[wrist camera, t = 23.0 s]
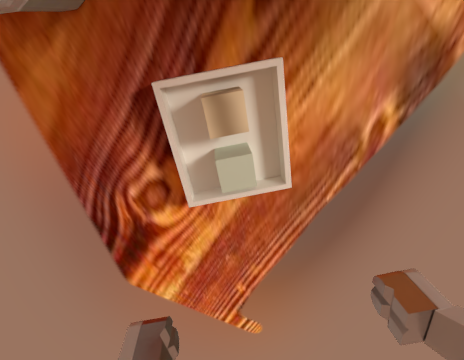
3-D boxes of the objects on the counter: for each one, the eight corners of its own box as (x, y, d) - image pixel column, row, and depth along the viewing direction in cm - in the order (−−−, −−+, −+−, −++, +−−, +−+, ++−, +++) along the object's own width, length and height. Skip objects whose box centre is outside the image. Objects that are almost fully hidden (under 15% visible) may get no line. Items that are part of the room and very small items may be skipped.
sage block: (247, 142, 36) (252, 153, 31) (251, 171, 38) (257, 186, 33) (214, 148, 36) (215, 160, 31) (220, 177, 38) (222, 193, 34)
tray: (274, 57, 32) (282, 57, 28) (284, 176, 40) (291, 187, 36) (157, 80, 32) (151, 82, 28) (191, 194, 40) (189, 207, 36)
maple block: (238, 86, 32) (243, 89, 28) (244, 122, 34) (249, 131, 30) (202, 93, 32) (201, 98, 28) (210, 129, 34) (210, 139, 30)
